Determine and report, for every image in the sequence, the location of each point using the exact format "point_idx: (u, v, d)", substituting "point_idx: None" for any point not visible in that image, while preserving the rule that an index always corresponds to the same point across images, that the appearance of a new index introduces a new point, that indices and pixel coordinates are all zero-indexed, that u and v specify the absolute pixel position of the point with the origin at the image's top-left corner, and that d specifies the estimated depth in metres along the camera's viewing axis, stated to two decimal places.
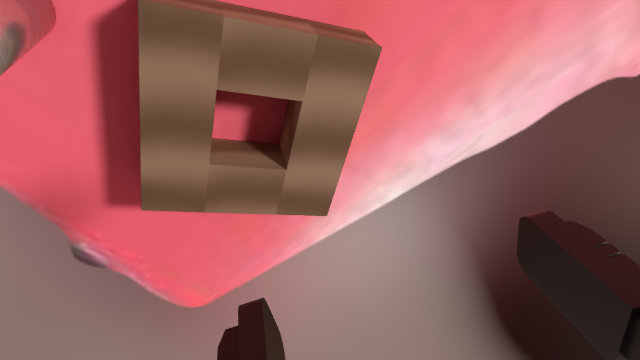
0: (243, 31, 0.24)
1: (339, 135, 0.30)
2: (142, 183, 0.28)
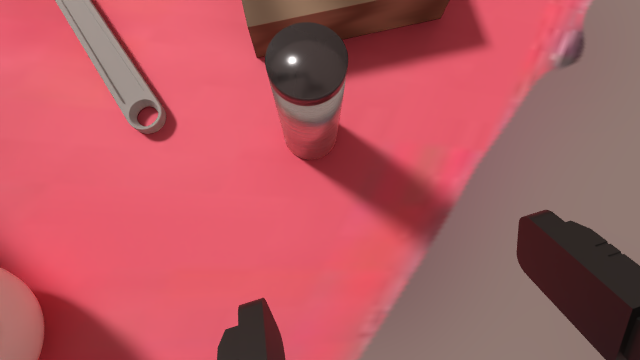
0: None
1: None
2: None
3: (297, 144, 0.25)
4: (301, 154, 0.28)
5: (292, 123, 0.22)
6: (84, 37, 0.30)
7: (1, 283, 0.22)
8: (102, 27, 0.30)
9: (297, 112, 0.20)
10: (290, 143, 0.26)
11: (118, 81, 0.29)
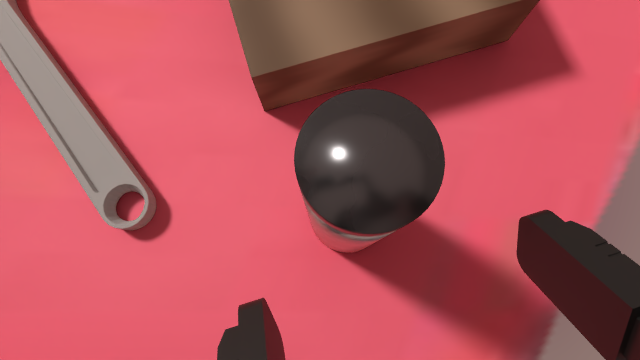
0: None
1: None
2: (496, 5, 0.19)
3: (335, 246, 0.17)
4: (338, 250, 0.19)
5: (334, 238, 0.14)
6: (38, 101, 0.22)
7: None
8: (61, 86, 0.22)
9: (351, 237, 0.12)
10: (323, 241, 0.18)
11: (87, 160, 0.21)
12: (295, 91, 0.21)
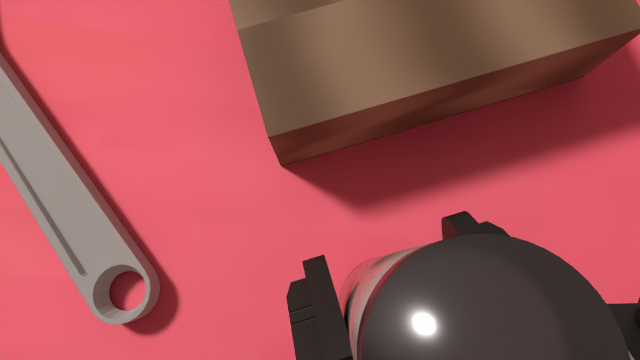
0: (246, 0, 0.15)
1: None
2: (587, 41, 0.15)
3: None
4: None
5: None
6: (10, 156, 0.17)
7: None
8: (40, 136, 0.17)
9: None
10: None
11: (73, 232, 0.17)
12: (321, 145, 0.17)
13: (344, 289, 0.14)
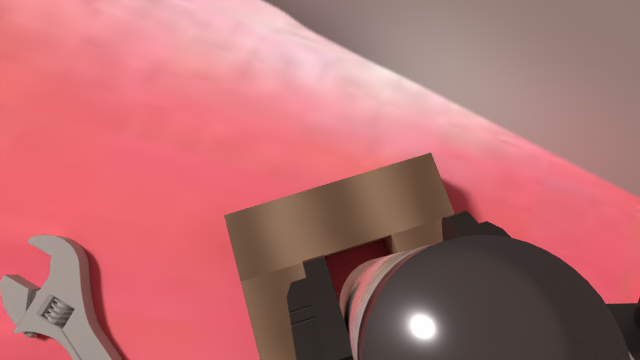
0: (269, 351, 0.25)
1: (325, 200, 0.27)
2: None
3: None
4: None
5: None
6: None
7: None
8: None
9: None
10: None
11: None
12: None
13: (344, 289, 0.14)
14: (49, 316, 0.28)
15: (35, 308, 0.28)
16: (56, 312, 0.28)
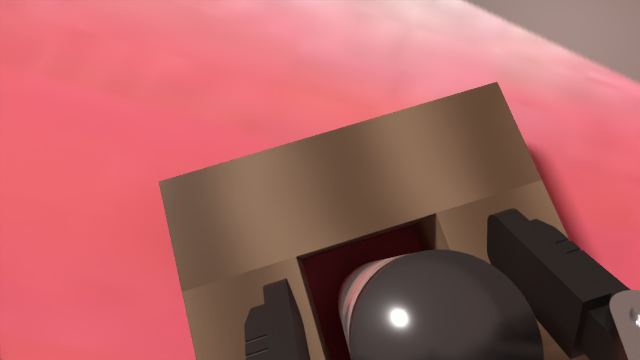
0: None
1: (326, 157, 0.16)
2: None
3: None
4: None
5: None
6: None
7: None
8: None
9: None
10: None
11: None
12: None
13: (341, 289, 0.17)
14: None
15: None
16: None
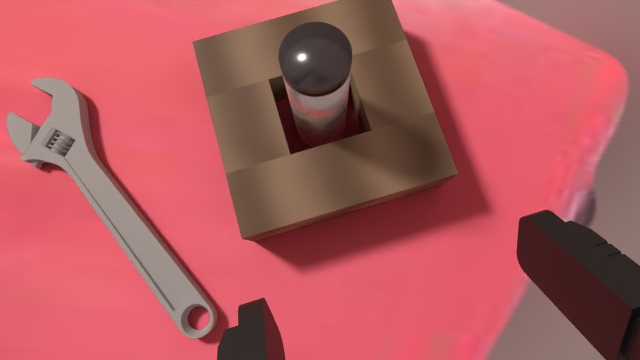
0: (230, 154, 0.27)
1: (286, 28, 0.29)
2: (422, 182, 0.26)
3: (309, 134, 0.28)
4: (313, 143, 0.30)
5: (304, 114, 0.24)
6: (124, 240, 0.29)
7: None
8: (141, 227, 0.29)
9: (309, 103, 0.22)
10: (303, 133, 0.29)
11: (165, 285, 0.28)
12: (276, 232, 0.28)
13: None
14: (52, 145, 0.30)
15: (39, 139, 0.31)
16: (58, 142, 0.30)
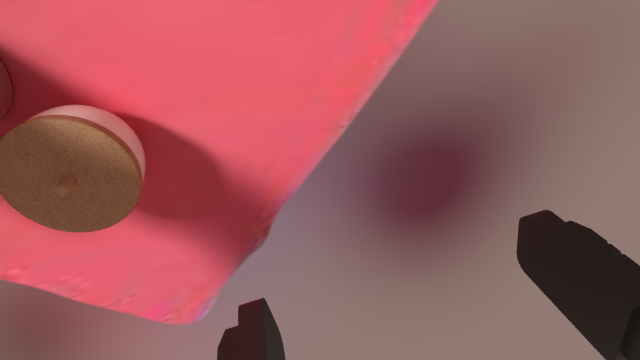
0: None
1: None
2: None
3: None
4: None
5: None
6: None
7: (114, 124, 0.32)
8: None
9: None
10: None
11: None
12: None
13: None
14: None
15: None
16: None
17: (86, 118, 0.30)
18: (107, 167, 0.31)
